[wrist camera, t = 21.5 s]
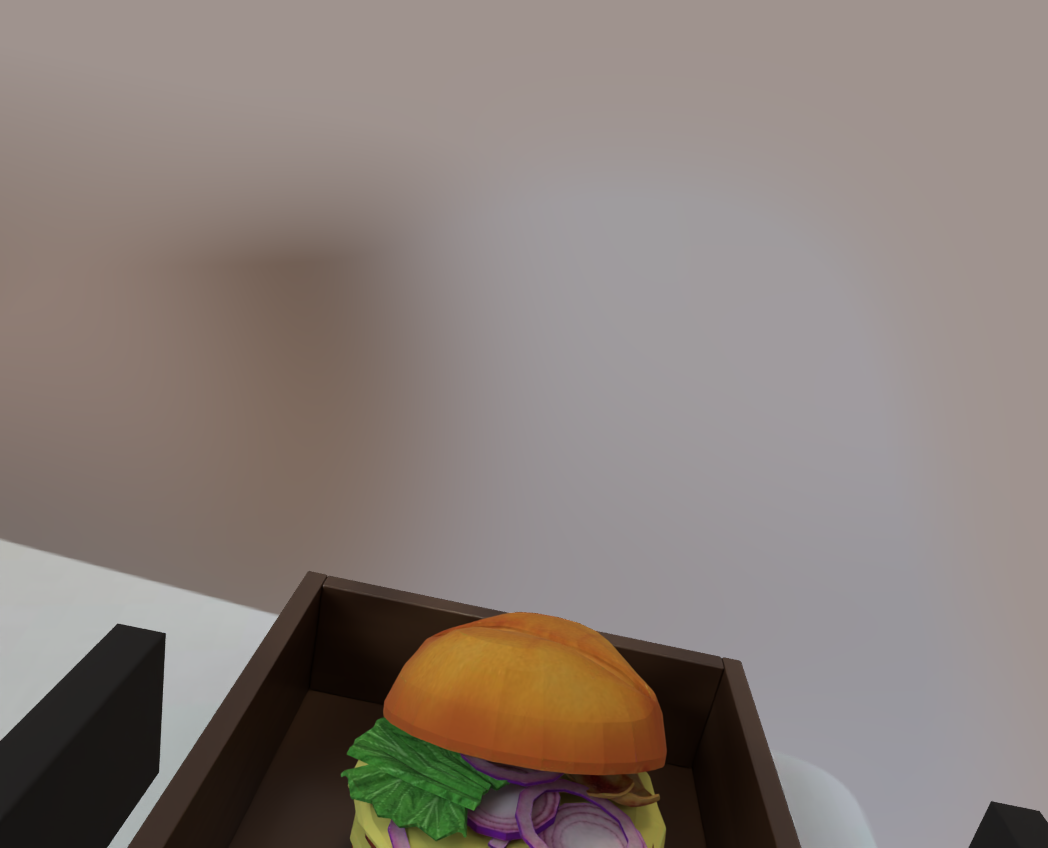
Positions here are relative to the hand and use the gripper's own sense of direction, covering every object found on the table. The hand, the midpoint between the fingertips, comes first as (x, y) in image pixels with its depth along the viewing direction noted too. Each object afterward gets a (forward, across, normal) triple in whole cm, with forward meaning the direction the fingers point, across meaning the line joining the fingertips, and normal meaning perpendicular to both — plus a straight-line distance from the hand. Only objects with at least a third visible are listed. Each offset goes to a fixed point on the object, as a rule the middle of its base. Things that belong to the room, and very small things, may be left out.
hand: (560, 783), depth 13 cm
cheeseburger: (+10, 0, -13) cm, 16 cm away
